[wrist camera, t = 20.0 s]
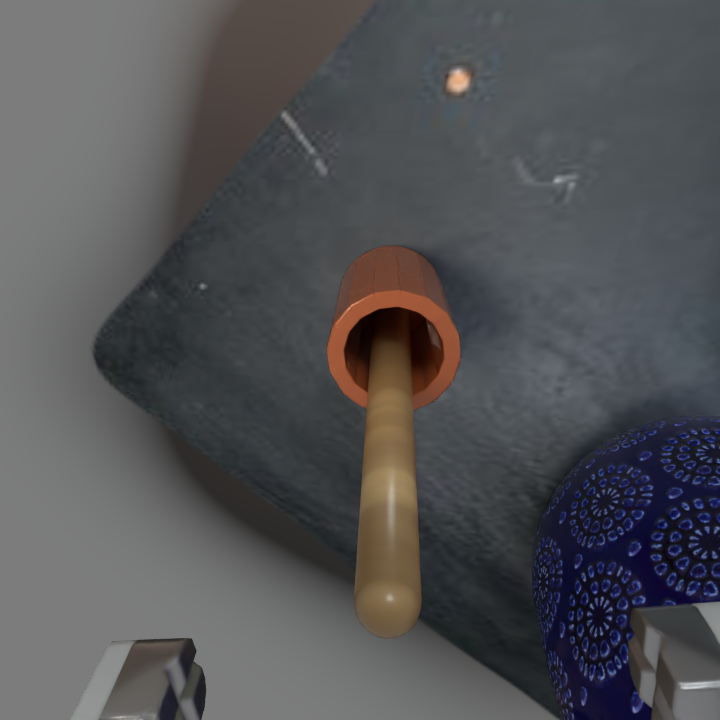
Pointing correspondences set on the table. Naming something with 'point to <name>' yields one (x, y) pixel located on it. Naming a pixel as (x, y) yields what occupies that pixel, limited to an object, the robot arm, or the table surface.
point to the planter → (624, 556)
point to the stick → (389, 486)
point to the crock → (387, 290)
